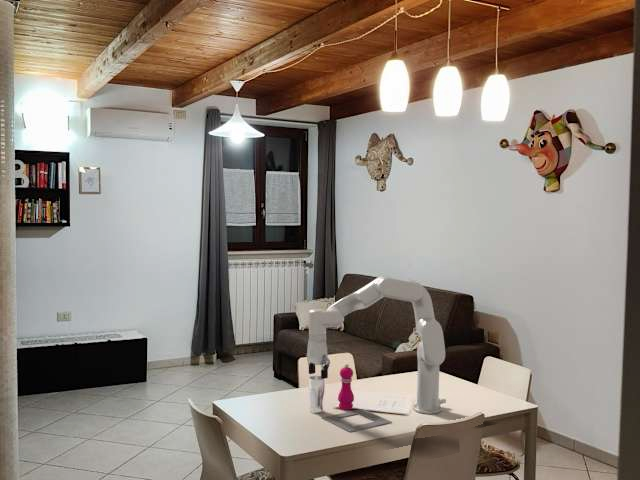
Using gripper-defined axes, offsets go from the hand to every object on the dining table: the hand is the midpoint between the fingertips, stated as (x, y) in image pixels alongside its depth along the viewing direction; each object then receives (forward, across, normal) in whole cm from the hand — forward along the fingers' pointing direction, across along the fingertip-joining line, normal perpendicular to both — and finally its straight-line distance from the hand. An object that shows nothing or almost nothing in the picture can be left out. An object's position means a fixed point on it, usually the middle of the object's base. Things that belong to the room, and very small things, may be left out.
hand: (318, 375), depth 283 cm
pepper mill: (+16, +2, +13) cm, 21 cm away
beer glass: (+16, 0, -1) cm, 16 cm away
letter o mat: (+16, +18, +7) cm, 26 cm away
